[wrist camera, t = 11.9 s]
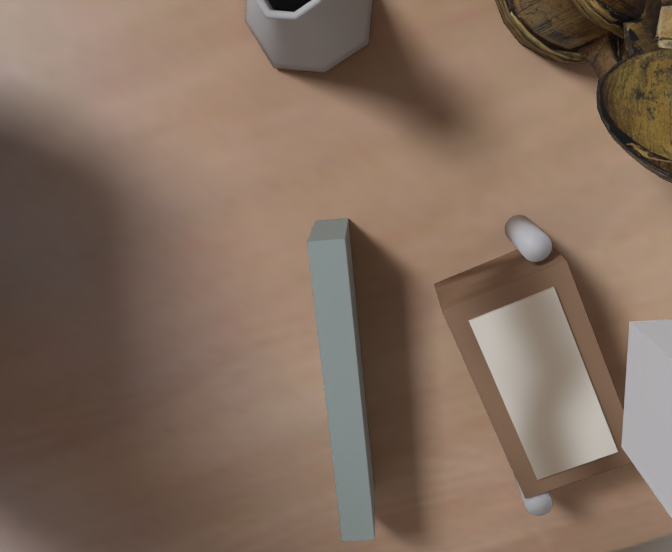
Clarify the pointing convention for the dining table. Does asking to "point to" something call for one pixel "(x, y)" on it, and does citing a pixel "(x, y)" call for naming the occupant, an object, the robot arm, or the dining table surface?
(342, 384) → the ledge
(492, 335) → the frame
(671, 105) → the wooden mug
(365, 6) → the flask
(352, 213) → the dining table surface
